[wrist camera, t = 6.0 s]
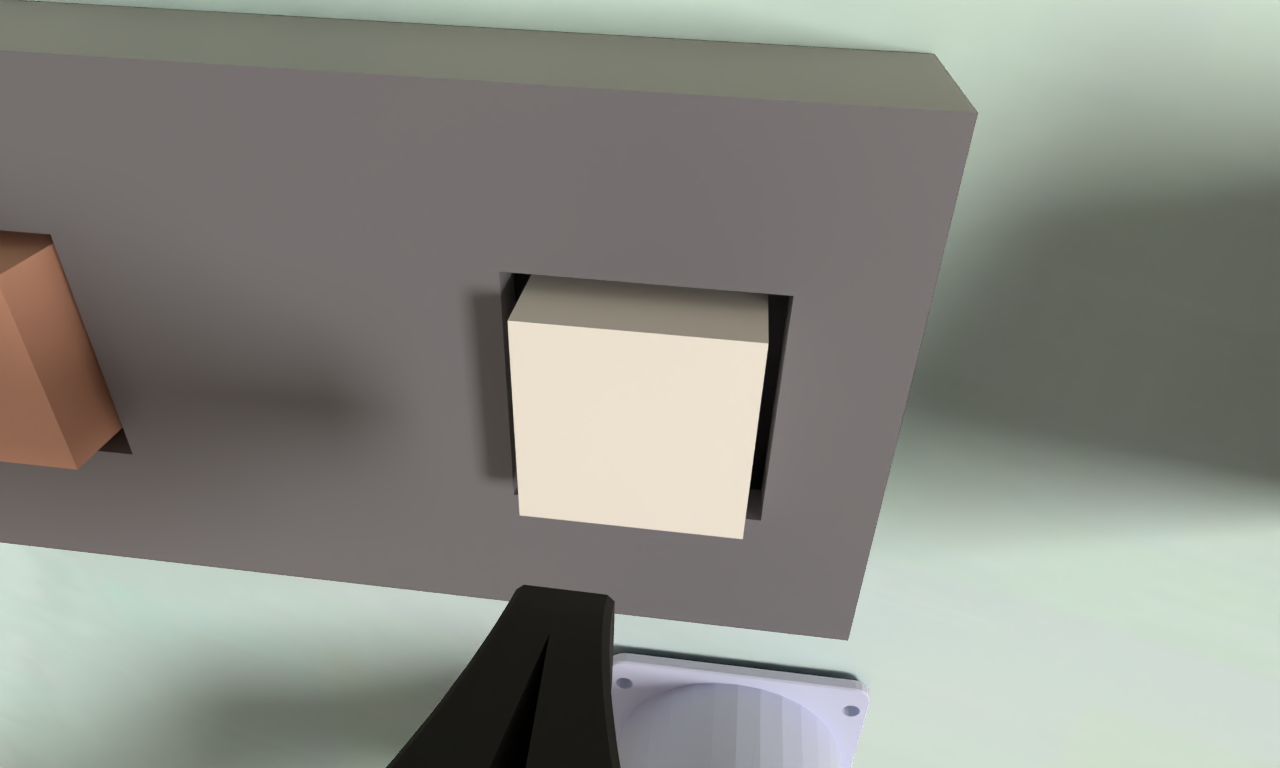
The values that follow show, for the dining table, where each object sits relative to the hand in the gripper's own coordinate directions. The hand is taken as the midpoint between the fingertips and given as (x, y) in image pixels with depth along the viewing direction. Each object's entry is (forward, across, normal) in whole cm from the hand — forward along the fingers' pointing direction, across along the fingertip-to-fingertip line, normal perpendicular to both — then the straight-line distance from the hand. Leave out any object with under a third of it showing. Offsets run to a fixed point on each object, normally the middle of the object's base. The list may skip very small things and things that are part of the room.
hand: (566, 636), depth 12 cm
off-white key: (+7, 0, 0) cm, 7 cm away
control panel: (+9, +7, 0) cm, 11 cm away
